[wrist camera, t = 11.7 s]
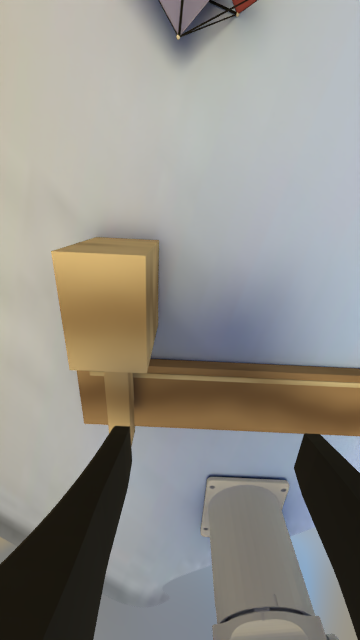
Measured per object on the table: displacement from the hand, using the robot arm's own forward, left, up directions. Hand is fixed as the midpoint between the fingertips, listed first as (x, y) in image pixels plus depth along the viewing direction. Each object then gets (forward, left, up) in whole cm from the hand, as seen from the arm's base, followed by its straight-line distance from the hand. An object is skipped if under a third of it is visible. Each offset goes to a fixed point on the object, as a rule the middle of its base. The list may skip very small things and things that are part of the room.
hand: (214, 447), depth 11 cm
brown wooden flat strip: (-5, -5, -9) cm, 11 cm away
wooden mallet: (+1, +5, -9) cm, 11 cm away
